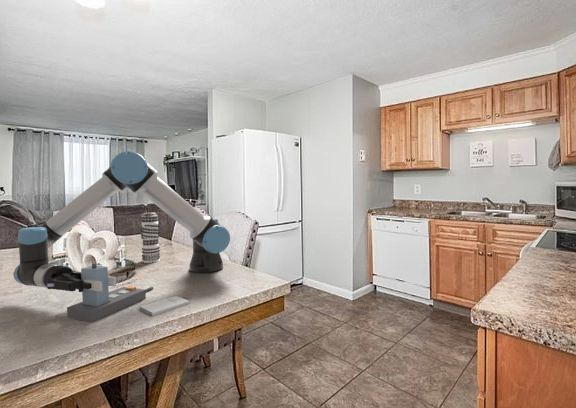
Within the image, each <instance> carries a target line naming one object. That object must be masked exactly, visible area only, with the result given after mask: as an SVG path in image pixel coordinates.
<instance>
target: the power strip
mask: <svg viewBox="0 0 576 408" xmlns="http://www.w3.org/2000/svg"><path fill="white" fill-rule="evenodd" d="M153 289H154V286H150V287H147V288H145V289H143V288H137V287H136V286H131V285H129V286H121V287H119V288H116V289H114V290H109V302H108V303H106V304H103V305H101V306H98V307H95V306H89V305H83V301H80V302H77V303H75V304H72V305H70V306H67V307H66V316H67V318H68V319H73V320H79V321H84V322H89V323H93V322H96V321H98V320H100V319H102V318H105V317H107V316H109V315H111V314H113V313H115V312H118V311H120V310H123V309H126V308H128V307H129V306H132V305H134V304H136V303H138V302H141V301H143V300H144V299H146V298H147V294H146V293H147V292H149V291H151V290H153Z"/></svg>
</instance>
